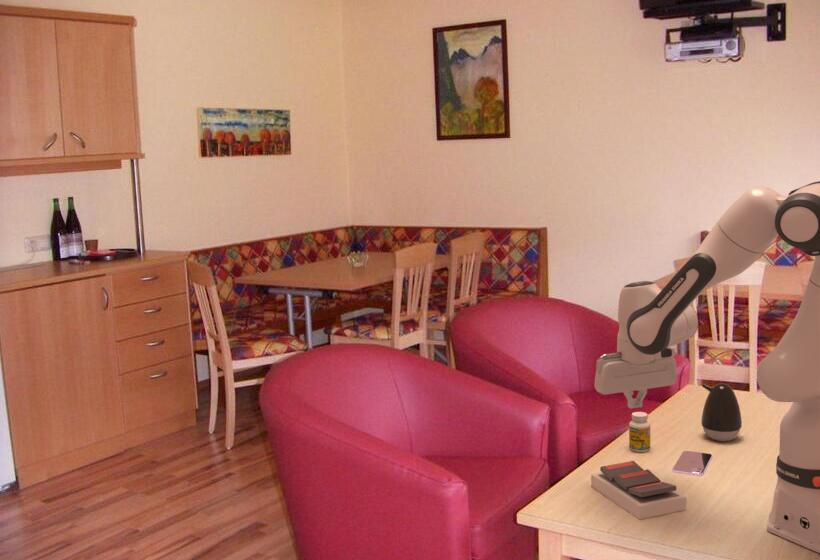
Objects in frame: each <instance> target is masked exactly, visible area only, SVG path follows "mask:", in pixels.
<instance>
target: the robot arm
mask: <svg viewBox="0 0 820 560" xmlns="http://www.w3.org/2000/svg"><path fill="white" fill-rule="evenodd" d="M777 237H780V239H781V240H783V241H784V242H785V243H786V244H788V245H789V246H791V247H794V248H796V249H798V250H800V251H801V252H803V253H804V254H806V255H808V256H810V257H814V262H813V266H812V270H811V272H810V274H809V279H808V281H807V284H806V287H805V291H804V294H803V297H802V300H801V303H800V305H799V308H798V310H797V313H796V315H795V317H794V318H793V320H792V322H791V324H790V325H789V327H788V328H787V329H786V331H785V333H784V334H783V336H782V337H781V339H780V340H779V342H778V343H777V344H776V346H774V348H773V349H772V350H771V351H770V352H769V353H768V354H767V355H766V356H765V357H763V358H762V359H761V360H760V362H759V363H758V366H757V367H756V382H757V384H758V387H759V388H760V391H761V392H762V393H763V394H764V396H765V397H767V398H768V399H770V400H771V401H774V402H778V403H792V404H791V406H790V407H789V409H788V411H787V412H786V413H785V414H784V415H783V417H782V418H781V421H780V425H779V447H778V448H779V452H778V453H779V454H778V455H777V457H776V463H775V468H776V470H775V472H776V475H777V481H776V485H775V489H774V494H773V499H772V505H771V510H770V514H769V515H768V523H767V526H766V527H767V528H766V530H767V531H768V532H769V533H771V534H774V535H776V536H779V537H780V538H783V539H785V540H787V541H789V542H793V543H795V544H797V545H799V546H802V547H804V548H806V549H808V550H812V551H813V552H815V553H818V554H820V181H813V182H811V183H808V184H806V185H803V186H801V187H799V188H796V189H793V190H791V191H790V192H789V193H788V195H782V194H781V193H779V192H777V191H776V190H774V189H772V188H769V187H765V186H754V187H751V188H750V189H748V190H746V191H745V192H744V193H743V194H742V195H741V196H740V197H739V198H737V199H736V200H735V201H734V202H733V203H732V204H731V205H730V206H729V207H728V209H727V210H725V212H724V213H723V214H722V216H721V217H720V218H719V219H718V220H717V222H716V223H715V225H714V226H713V227H712V229H710V231H709V233H708V234H707V235H706V236H705V238H704V239H703V241H702V242H701V243H700V245H699V246H698V248H697V249H695V251H694V252H693V253H692V255H691V256H690V257H689V259H688V260H687V261H686V262H685V264H684V265H683V266H682V267H681V268H680V269H679V270H678V271H677V272H676V273H675V274H674V276H673V277H672V278H671V279H670V280H669V281H668V282H667V284H666V285H664V286H663V288H662V289H661V288H660V287H659V286H658V284H657V283H655V282H652V281H650V280H648V281H647V280H646V281H645V280H644V281H635V282H631V283H627V284H624V286H623V287H622V288H621V289H620V294H619V298H618V309H617V311H618V312H617V321H618V324H619V329H618V333H617V340H616V341H617V342H616V352H612V353H604V354H602V355H601V356H599V358H598V359H596V369H595V370H596V371H595V375H594V389H595V390H596V391H597V392H598V393H599V394H602V395H604V396H605V395H606V396H607V395H613V394H618V393H619V394H620V393H623V395H624V397H625V398H626V400H627V407H628V408H629V409H637V408H642V407H643V401H644V399H645V398H646V395H647V394H648V389H649V390H650V389H655V388H661V387H669V386H674V385H675V383H676V382H677V377H678V376H677V375H678V374H677V369H678V368H677V367H678V366H677V360H676V359H675V358H674V357H675V356H676V349H675V348H674V347H673V346H676V345H678V344H681V343H682V342H685V341H687V340H689V339H692V337H694V335H695V334H696V333H697V331H698V328H699V317H698V313H697V311H696V310H695V308H694V306H692V304H693V302H695V300H696V299H697V298H698V297H699V296H700V295H702V294H703V293H704V292H705V291H707V290H709V289H710V288H712V287H714V286H717V285H718V284H721V283H722V282H724V281H727V280H729V279H732V278H734V277H737V276H738V275H741V274H742V273H744V272H745V271H746V270H747V269H748V268H750V267H751V266H752V265H753V264H754V263H755V262H756V261H757V260H759V258H760V257H761V256H762V255H763V253H764V252H765V251H766V250H767V249H768V247H769V246H771V245H772V243H773V241H775V239H777ZM635 391H637V395H636V397H635V398H633V395H634V392H635Z"/></svg>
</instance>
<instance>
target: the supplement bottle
mask: <svg viewBox="0 0 820 560" xmlns="http://www.w3.org/2000/svg"><path fill="white" fill-rule="evenodd" d="M648 418H649V417H648V413H647V412H644V411H634V412H632V413H631V419H632V420H631V421H630V422H629V424H628V427H629V428H628V431H629V432H628V435H629V437H628V441H629V442H628V445H629V447H628V448H629V450H630V451H632V452H634V453H635V452H636V453H646V452H649V451H650V450H651V423H650V422H649V420H648Z"/></svg>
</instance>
